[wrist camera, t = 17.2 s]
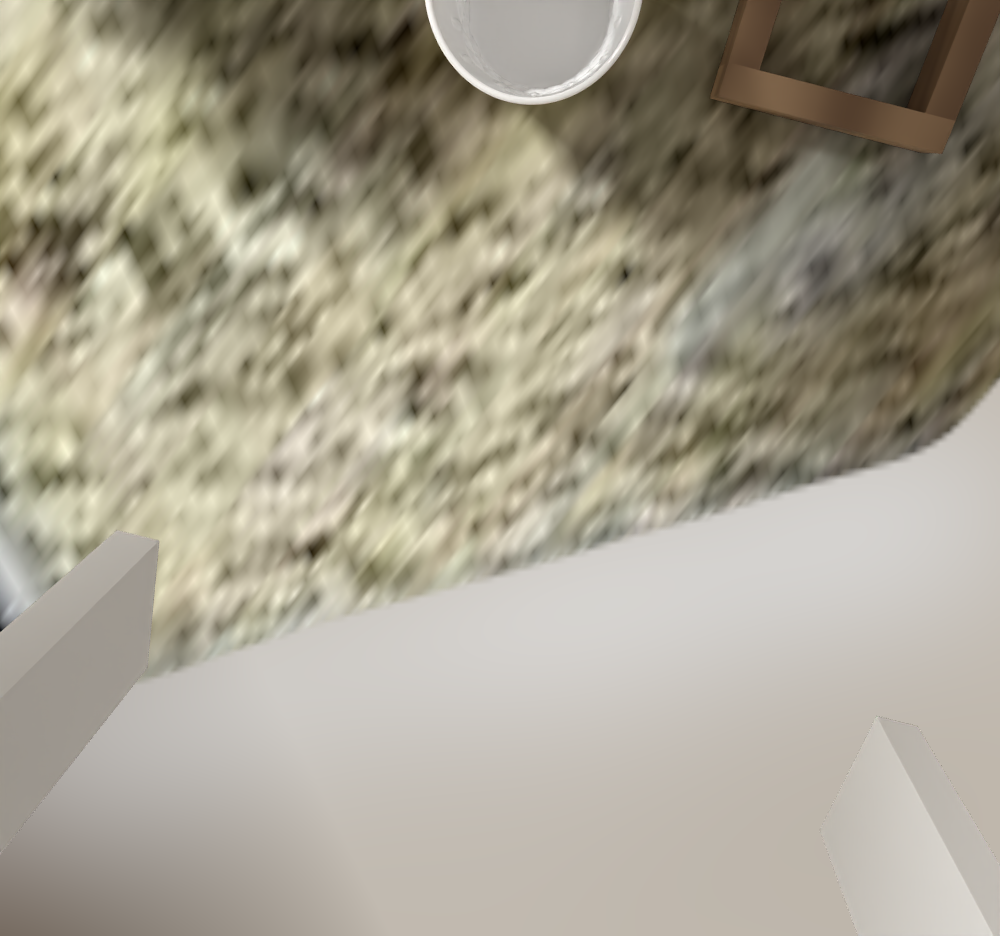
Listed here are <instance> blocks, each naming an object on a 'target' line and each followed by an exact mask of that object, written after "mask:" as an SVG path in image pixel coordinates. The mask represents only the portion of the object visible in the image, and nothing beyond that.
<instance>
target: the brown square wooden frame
mask: <svg viewBox="0 0 1000 936" xmlns="http://www.w3.org/2000/svg"><path fill="white" fill-rule="evenodd" d="M781 1H782V0H739V3H738V6H737V10H736V13H735V16H734V20H733V23H732V26H731V29H730V33H729V36H728V39H727V43H726V46H725V49H724V53H723V56H722V59H721V62H720V66H719V69H718V72H717V76H716V79H715V82H714V86H713V89H712V92H711V95H710V99H714V100H718V101H722V102H726V103H730V104H734V105H737V106H741V107H745V108H749V109H753V110H757V111H761V112H765V113H768V114H772V115H776V116H780V117H784V118H788V119H792V120H796V121H800V122H803V123H807V124H811V125H815V126H819V127H823V128H827V129H831V130H834V131H838V132H842V133H846V134H850V135H854V136H858V137H862V138H866V139H869V140H873V141H877V142H881V143H885V144H889V145H893V146H897V147H901V148H904V149H908V150H912V151H916V152H920V153H937V154H942V153H943V150H944V148H945V145H946V143H947V141H948V138H949V136H950V133H951V131H952V128H953V126H954V123H955V121H956V118H957V116H958V114H959V111H960V109H961V106H962V104H963V101H964V99H965V96H966V94H967V92H968V89H969V87H970V84H971V82H972V79H973V77H974V74H975V72H976V70H977V67H978V65H979V62H980V60H981V57H982V55H983V52H984V50H985V48H986V45H987V43H988V40H989V38H990V35H991V33H992V30H993V28H994V25H995V23H996V21H997V18H998V16H999V13H1000V0H948V2H947V5H946V7H945V10H944V13H943V15H942V18H941V20H940V23H939V26H938V28H937V31H936V33H935V36H934V39H933V41H932V44H931V46H930V49H929V52H928V54H927V57H926V59H925V62H924V64H923V67H922V70H921V72H920V75H919V77H918V80H917V83H916V85H915V88H914V90H913V93H912V96H911V98H910V101H909V103H908V106H907V108H903V107H900V106H896V105H892V104H888V103H884V102H880V101H876V100H872V99H869V98H865V97H861V96H857V95H853V94H849V93H845V92H842V91H838V90H834V89H830V88H826V87H822V86H818V85H814V84H811V83H807V82H803V81H799V80H795V79H791V78H787V77H783V76H780V75H776V74H772V73H768V72H764V71H760V67H761V64H762V60H763V57H764V54H765V51H766V48H767V45H768V42H769V39H770V36H771V32H772V29H773V26H774V23H775V20H776V17H777V14H778V11H779V7H780V4H781Z"/></svg>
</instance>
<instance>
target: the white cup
mask: <svg viewBox="0 0 1000 936" xmlns="http://www.w3.org/2000/svg"><path fill="white" fill-rule="evenodd" d="M425 4H426V9H427V14H428V18H429V22H430V25H431V28H432V31H433V33H434V36H435V38H436V40H437V42H438V44H439V46H440V48H441V50H442V51H443V53H444V55H445V56H446V58H447V59H448V61H449V62H450V63H451V65H452V66H453V67H454V68H455V69H456V70H457V72H458V73H459V74H460V75H461V76H462V77H463V78H465V79H466V80H467V81H468V82H469V83H471V84H472V85H473V86H475V87H476V88H478V89H479V90H481V91H482V92H484V93H486V94H488V95H490V96H492V97H495V98H497V99H500V100H503V101H507V102H511V103H516V104H525V105H538V104H547V103H552V102H556V101H560V100H563V99H566V98H568V97H571V96H573V95H575V94H577V93H579V92H581V91H583V90H584V89H586V88H588V87H589V86H590V85H592V84H593V83H595V82H596V81H597V80H598V79H599V78H601V77H602V76H603V75H604V74H605V73H606V72H607V71H608V70H609V69H610V68H611V66H612V65H613V64H614V63H615V62H616V60H617V59H618V58H619V56H620V55H621V53H622V52H623V50H624V49H625V47H626V45H627V43H628V41H629V39H630V37H631V35H632V33H633V31H634V28H635V26H636V23H637V20H638V17H639V13H640V9H641V5H642V0H425Z"/></svg>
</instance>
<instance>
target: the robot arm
mask: <svg viewBox="0 0 1000 936" xmlns="http://www.w3.org/2000/svg"><path fill="white" fill-rule="evenodd" d="M158 549H159V540H155V539H151V538H147V537H143V536H139V535H135V534H131V533H127V532H122V531H118V530H116V531H115V532H114V533H113V534H112V535H111V536H109V537H108V538H107V539H106V540H105V541H104V542H103V543H101V544H100V545H99V546H98V547H97V548H96V549H95V550H94V551H92V552H91V553H90V554H89V555H88V556H87V557H86V558H84V559H83V560H82V561H81V562H80V563H79V564H78V565H76V566H75V567H74V568H73V569H72V570H71V571H70V572H68V573H67V574H66V575H65V576H64V577H63V578H62V579H60V580H59V581H58V582H57V583H56V584H55V585H54V586H53V587H51V588H50V589H49V590H48V591H47V592H46V593H45V594H43V595H42V596H41V597H40V598H39V599H38V600H37V601H35V602H34V603H33V604H32V605H31V606H30V607H29V608H27V609H26V610H25V611H24V612H23V613H22V614H21V615H19V616H18V617H17V618H16V619H15V620H14V621H13V622H12V623H10V624H9V625H8V626H7V627H6V628H5V629H4V630H2V631H1V632H0V854H1V853H2V852H3V850H4V849H5V848H6V847H7V845H8V844H9V843H10V842H11V840H12V839H13V838H14V836H15V835H16V834H17V833H18V831H19V830H20V829H21V828H22V826H23V825H24V823H26V821H27V820H28V819H29V817H30V816H31V815H32V813H33V812H34V811H35V810H36V808H37V807H38V806H39V805H40V803H41V802H42V801H43V800H44V798H45V797H46V796H47V795H48V793H49V792H50V791H51V789H52V788H53V787H54V786H55V784H56V783H57V782H58V781H59V779H60V778H61V777H62V776H63V774H64V773H65V772H66V770H67V769H68V768H69V767H70V765H71V764H72V763H73V761H74V760H75V759H76V758H77V756H78V755H79V754H80V753H81V751H82V750H83V749H84V747H85V746H86V745H87V744H88V742H89V741H90V740H91V739H92V737H93V736H94V735H95V734H96V732H97V731H98V730H99V729H100V727H101V726H102V725H103V723H104V722H105V721H106V720H107V718H108V717H109V716H110V715H111V713H112V712H113V711H114V709H115V708H116V707H117V706H118V704H119V703H120V702H121V700H122V699H123V698H124V697H125V695H126V694H127V693H128V692H129V690H130V689H131V688H132V687H133V685H134V684H135V683H136V682H137V680H138V679H139V678H140V676H141V675H142V674H143V673H144V671H145V670H146V669H147V667H148V656H149V646H150V635H151V624H152V613H153V603H154V592H155V581H156V571H157V560H158ZM820 833H821V836H822V838H823V841H824V844H825V846H826V849H827V852H828V855H829V858H830V860H831V863H832V866H833V869H834V871H835V874H836V877H837V880H838V882H839V885H840V888H841V891H842V893H843V896H844V899H845V902H846V904H847V907H848V910H849V913H850V915H851V918H852V921H853V924H854V926H855V929H856V932H857V935H858V936H1000V864H999V862H998V861H997V859H996V857H995V856H994V854H993V852H992V850H991V849H990V847H989V846H988V844H987V842H986V840H985V839H984V837H983V835H982V834H981V832H980V830H979V829H978V827H977V825H976V823H975V822H974V820H973V818H972V817H971V815H970V813H969V812H968V810H967V808H966V807H965V805H964V803H963V802H962V800H961V798H960V797H959V795H958V793H957V792H956V790H955V788H954V786H953V785H952V783H951V781H950V780H949V778H948V776H947V775H946V773H945V771H944V770H943V768H942V766H941V765H940V763H939V761H938V759H937V758H936V756H935V755H934V753H933V751H932V750H931V748H930V746H929V744H928V743H927V741H926V739H925V738H924V736H923V734H922V733H921V731H920V729H919V728H918V726H915V725H911V724H907V723H903V722H899V721H894V720H891V719H887V718H882V717H878V716H877V717H876V718H875V720H874V722H873V724H872V726H871V728H870V730H869V732H868V734H867V736H866V738H865V740H864V742H863V744H862V746H861V748H860V750H859V752H858V754H857V756H856V758H855V760H854V762H853V764H852V766H851V768H850V770H849V772H848V774H847V776H846V778H845V780H844V782H843V784H842V786H841V788H840V790H839V792H838V795H837V796H836V798H835V800H834V802H833V804H832V806H831V808H830V810H829V812H828V815H827V816H826V818H825V821H824V822H823V824H822V826H821V828H820Z"/></svg>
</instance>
